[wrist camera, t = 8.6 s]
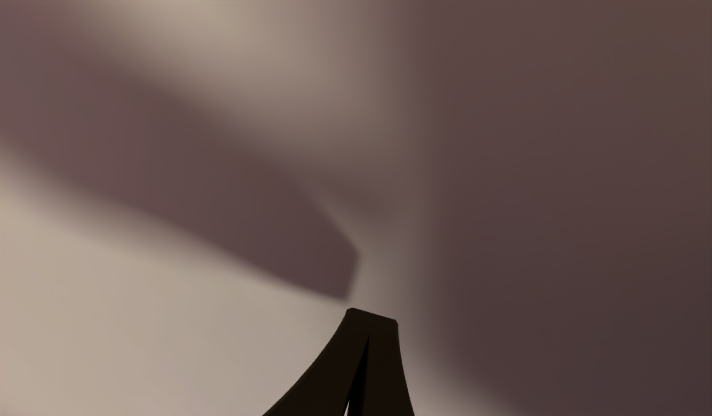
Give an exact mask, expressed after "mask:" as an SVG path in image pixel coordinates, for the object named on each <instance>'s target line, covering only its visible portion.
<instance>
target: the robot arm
mask: <svg viewBox="0 0 712 416" xmlns="http://www.w3.org/2000/svg"><path fill="white" fill-rule="evenodd" d="M348 402H349V406H348V413H347V416H415V415H414V412H413V408H412V405H411V401H410V397H409V393H408V389H407V384H406V380H405V375H404V370H403V365H402V359H401V353H400V345H399V334H398V323H397V322H396V320H394V319H390V318H387V317H383V316H380V315H376V314H373V313H369V312H366V311H363V310H359V309H356V308H350V309H347V311H346V314H345V316H344V318H343V320H342V322H341V324H340V326H339V327H338V329H337V330H336V332H335V334H334V335H333V337H332V338H331V340H330V341H329V342H328V344H327V345H326V346H325V348H324V349H323V350H322V352H321V353H320V354H319V356H318V357H317V358H316V360H315V361H314V362H313V363H312V365H311V366H310V367H309V368H308V369H307V370H306V371H305V373H304V374H303V375H302V376H301V377H300V378H299V380H298V381H297V382H296V383H295V384H294V385H293V386H292V387H291V388H290V389H289V390H288V391H287V392H286V393H285V395H284V396H283V397H282V398H281V399H279V400H278V401H277V402H276V403H275V404H274V405H273V406H272V407H271V408H270V409H269V410H268V411H267V412H266V413H265V414H264V415H262V416H344V414H345V411H346V408H347V405H348Z"/></svg>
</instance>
